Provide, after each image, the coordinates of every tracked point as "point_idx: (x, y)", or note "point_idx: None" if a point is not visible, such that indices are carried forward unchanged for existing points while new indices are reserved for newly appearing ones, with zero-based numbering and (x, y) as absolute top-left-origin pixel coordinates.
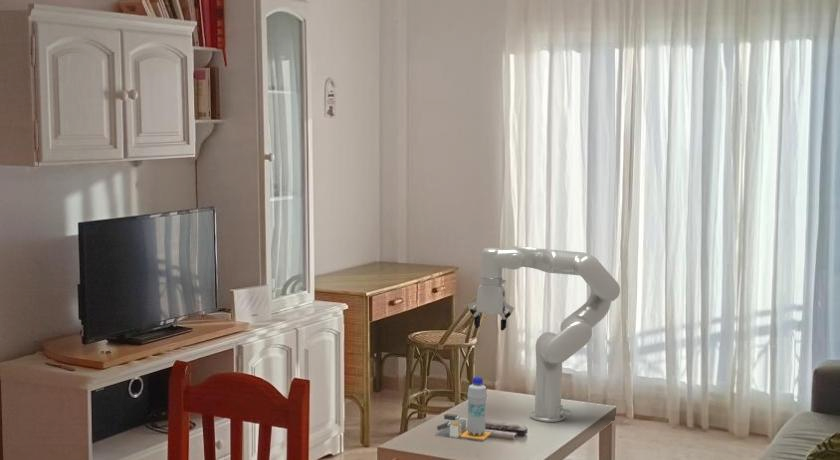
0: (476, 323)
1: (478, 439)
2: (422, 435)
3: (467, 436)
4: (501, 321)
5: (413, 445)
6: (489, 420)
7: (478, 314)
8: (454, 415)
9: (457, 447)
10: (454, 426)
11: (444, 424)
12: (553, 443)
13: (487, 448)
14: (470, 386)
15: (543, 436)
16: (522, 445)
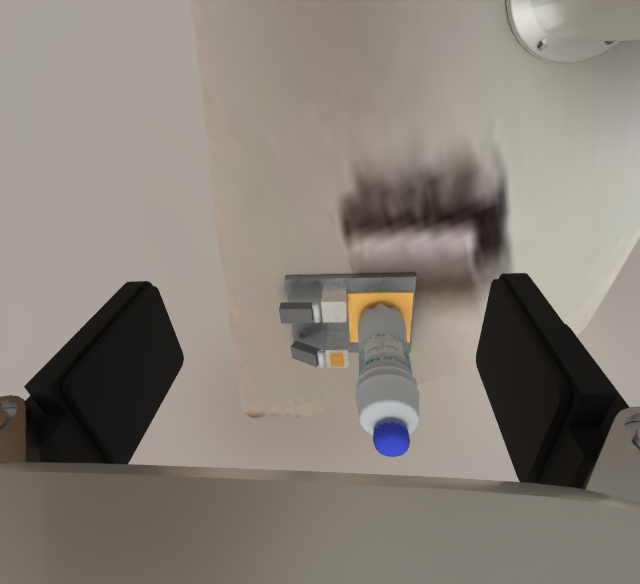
0: (154, 403)
1: None
2: (263, 340)
3: None
4: (523, 469)
5: (281, 391)
6: (363, 146)
7: (36, 448)
8: (307, 315)
9: None
10: (338, 366)
11: (311, 363)
12: (592, 276)
13: (426, 361)
14: (369, 432)
15: (562, 230)
16: None
